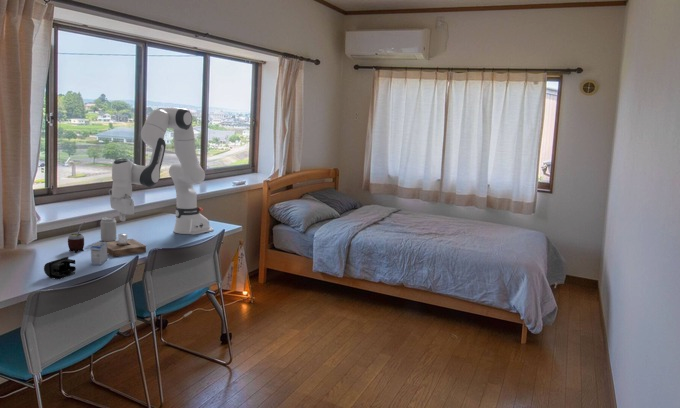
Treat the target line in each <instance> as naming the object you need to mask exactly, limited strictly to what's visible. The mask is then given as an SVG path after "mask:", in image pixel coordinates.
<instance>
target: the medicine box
mask: <svg viewBox="0 0 680 408" xmlns="http://www.w3.org/2000/svg"><path fill="white" fill-rule="evenodd" d="M90 257H91V258H90V260H91V261H90V262H91V263H90V264H91V265H92V266H93V265H94V266H101V265H102V264H104V263H105V262H106V261H107V260H108V253H107V242H103V241H97V242H95V243H93V244H92V245H91V247H90Z"/></svg>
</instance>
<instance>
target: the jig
mask: <svg viewBox="0 0 680 408" xmlns="http://www.w3.org/2000/svg"><path fill="white" fill-rule="evenodd" d="M146 252H147V245H145V244H143V243H141V242H139V241H138V240H135V239H133V238H127V246H120V247H119V242H118V240H115V241H112V242H107V255H110V256H111V257H113V258H114V257H116V258H117V257H121V256H127V255H135V254H141V253H146Z"/></svg>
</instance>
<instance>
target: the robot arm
mask: <svg viewBox="0 0 680 408" xmlns="http://www.w3.org/2000/svg"><path fill="white" fill-rule="evenodd" d="M168 129H172V130H173V143H174V144H173V146H174V154H175V156H176V157H177V158H178V160H179V162H175V163H172V164H171V166H170V167H169V168H168V169H169V170H168V174H169V177H170V178H171V179H172V180H171V181H173V182H172V183H173V185H174V189H175V197H176V207H175V223H174V227H173V233H176V234H181V235H193V236H194V235H200V234H203V233H210V232H213V231H214V230H215V229H214V228H213V227H212V226H210V221H209V219H208V218H207V217H206V216H204V215H203V214H201V212H202V213H203V211H204V209H203V208H202V207H198V204H197V203H198V201H197V200H198V194H197V191H196V190H195V188H194V185H200V184H202V183H204V181H205V178H206V171H205V170H204V169H203V168H202V166H201V164H200V162H199V159H198V155H197V152H196V151H197V150H196V140H195V131H194V127H193V115H192V113H191V111H190V110H189V109H187V108H183V107H181V108H179V107H174V106H173V107H159V108H155V109H154V110H152V111H151V112H150V114H149V115H148V116H147V118H146V120H145V121H144V124H143V126H142V128H141V131H140V138H141V140H142V141H143V142H144V144H146V146H148V147H150V148H151V149H152V152H151V157H150V160H149V163H148V164H147V165H141V164H140V165H139V164H136V163H133V162H132V161H131V159H129V158H119V159H116V160H114V161H113V163H112V166H111V179H112V185H111V186H112V187H111V188H110V189H109V190H108V194H109V203H110V208H111V209H113V210H115V211H116V212H118V216H119V221H121V222H126V218H127V216H133V215H135V203H134V199H133V198H132V197H133V185H138V186H144V187H148V188H153V187H155V186H156V185H157V184H158V183H159V182H160V176H161V168H162V164H163V160H164V156H165V152H166V145H167V143H166V141H165V134H166V133H167V130H168Z"/></svg>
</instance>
